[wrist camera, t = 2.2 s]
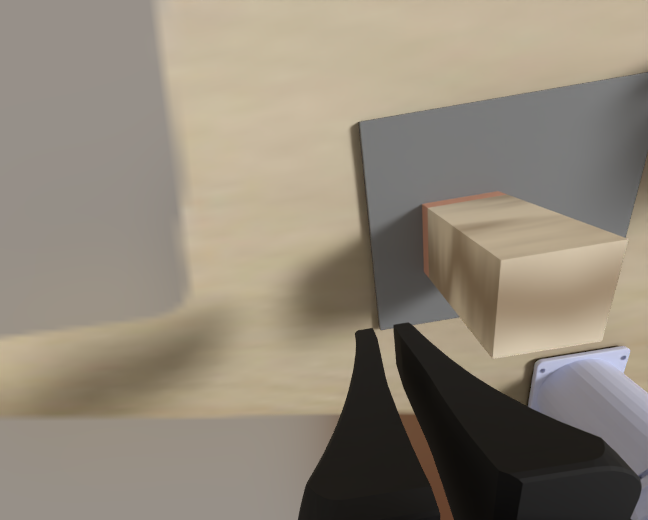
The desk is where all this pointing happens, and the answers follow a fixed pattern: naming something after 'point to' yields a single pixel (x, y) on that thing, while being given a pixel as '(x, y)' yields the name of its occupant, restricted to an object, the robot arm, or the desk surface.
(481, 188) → the mat
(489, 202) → the block
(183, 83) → the desk surface
